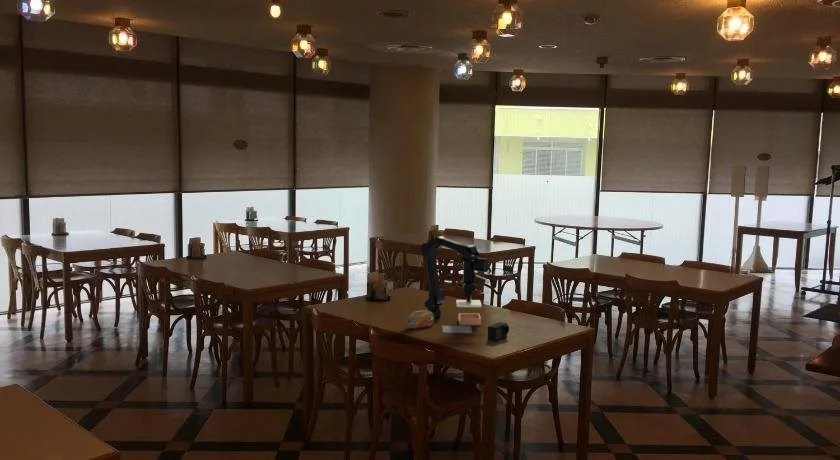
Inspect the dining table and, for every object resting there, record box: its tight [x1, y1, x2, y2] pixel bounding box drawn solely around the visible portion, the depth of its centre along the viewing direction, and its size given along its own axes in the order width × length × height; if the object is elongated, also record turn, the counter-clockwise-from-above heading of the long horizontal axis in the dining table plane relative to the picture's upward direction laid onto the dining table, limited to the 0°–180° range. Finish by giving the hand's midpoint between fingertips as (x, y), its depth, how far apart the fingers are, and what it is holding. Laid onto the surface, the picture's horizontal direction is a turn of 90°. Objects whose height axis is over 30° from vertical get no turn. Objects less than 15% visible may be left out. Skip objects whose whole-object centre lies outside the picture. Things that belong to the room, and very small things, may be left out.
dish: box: [458, 312, 482, 326], centre depth 360 cm, size 10×10×4 cm
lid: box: [455, 297, 482, 308], centre depth 358 cm, size 12×12×5 cm
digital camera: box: [487, 321, 510, 343], centre depth 330 cm, size 10×5×7 cm, turn 143°
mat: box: [441, 325, 473, 334], centre depth 348 cm, size 14×13×1 cm
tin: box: [405, 309, 436, 329], centre depth 352 cm, size 15×3×8 cm, turn 117°
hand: (468, 300), depth 358 cm, fingers closed on lid, 3 cm apart
